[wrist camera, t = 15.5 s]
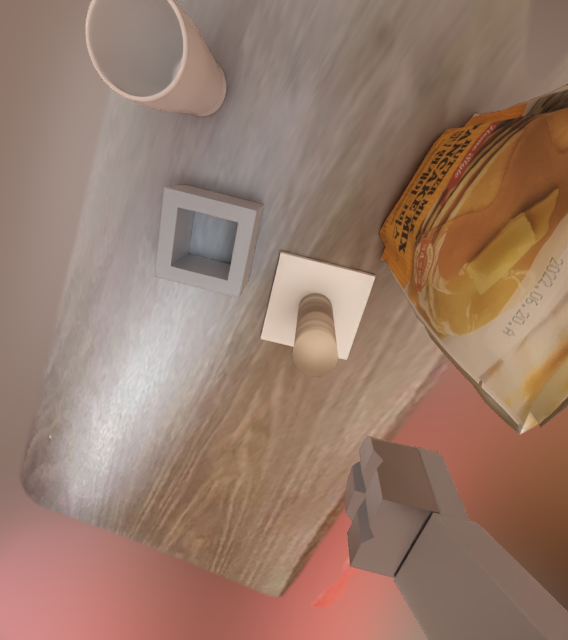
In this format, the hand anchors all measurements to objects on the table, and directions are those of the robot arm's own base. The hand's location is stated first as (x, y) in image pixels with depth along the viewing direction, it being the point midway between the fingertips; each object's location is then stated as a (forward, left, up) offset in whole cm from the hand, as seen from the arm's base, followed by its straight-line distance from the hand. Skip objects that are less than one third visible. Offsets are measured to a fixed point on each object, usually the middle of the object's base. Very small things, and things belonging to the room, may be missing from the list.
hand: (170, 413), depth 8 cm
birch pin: (+10, +6, -35) cm, 37 cm away
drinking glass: (-10, -11, -37) cm, 39 cm away
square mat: (+10, +6, -36) cm, 38 cm away
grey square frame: (+4, -7, -36) cm, 37 cm away
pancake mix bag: (-5, +15, -37) cm, 40 cm away
